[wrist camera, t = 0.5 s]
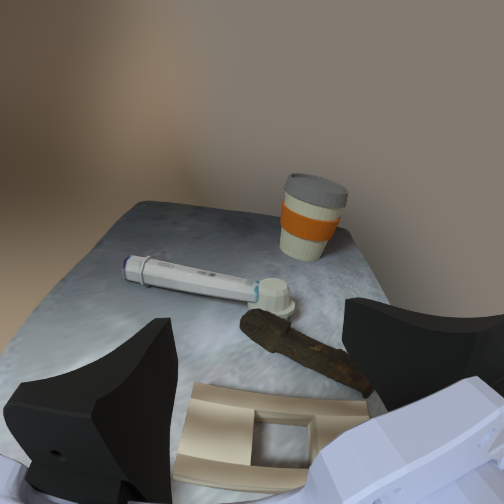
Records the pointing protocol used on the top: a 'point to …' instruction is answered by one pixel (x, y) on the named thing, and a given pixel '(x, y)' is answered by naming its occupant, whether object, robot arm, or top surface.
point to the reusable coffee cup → (310, 215)
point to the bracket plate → (241, 432)
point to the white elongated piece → (211, 284)
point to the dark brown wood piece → (303, 349)
